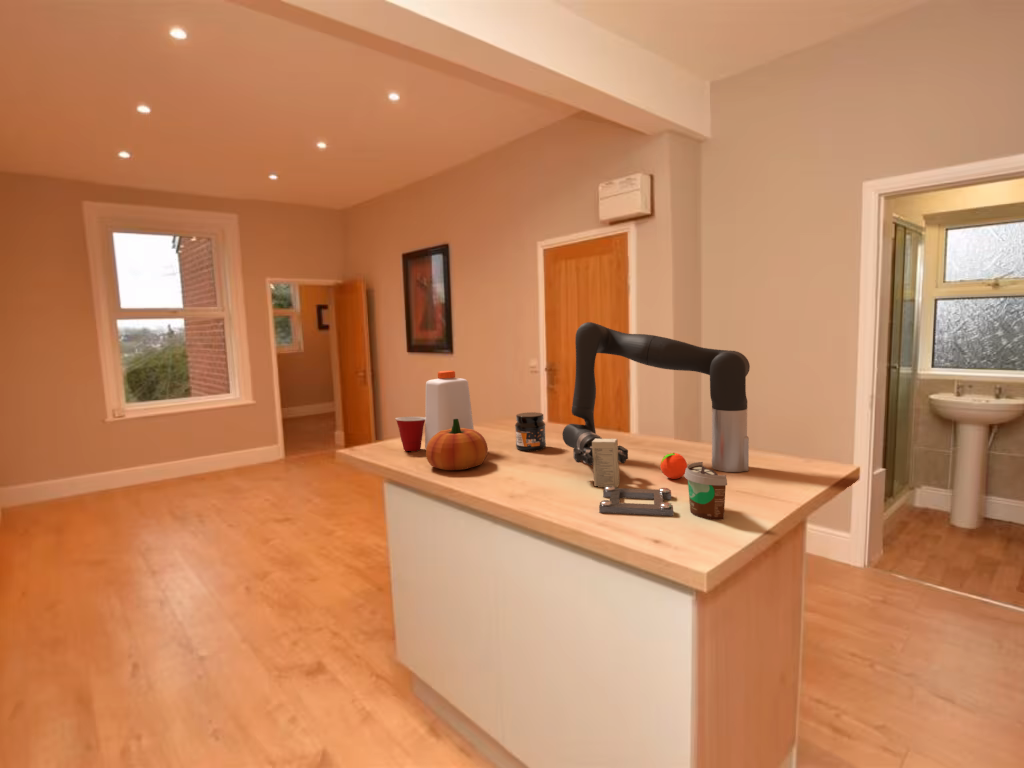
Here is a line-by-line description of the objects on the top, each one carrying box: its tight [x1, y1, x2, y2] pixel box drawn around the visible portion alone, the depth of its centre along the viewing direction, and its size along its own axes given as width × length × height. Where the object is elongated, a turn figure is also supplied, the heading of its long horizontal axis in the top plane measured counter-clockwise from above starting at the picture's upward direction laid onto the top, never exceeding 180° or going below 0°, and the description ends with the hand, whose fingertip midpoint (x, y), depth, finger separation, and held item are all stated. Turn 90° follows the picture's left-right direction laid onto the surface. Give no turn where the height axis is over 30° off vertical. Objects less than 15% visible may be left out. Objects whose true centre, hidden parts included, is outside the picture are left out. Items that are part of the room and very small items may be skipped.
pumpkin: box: [425, 419, 489, 471], centre depth 166 cm, size 19×19×15 cm
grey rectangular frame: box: [598, 486, 674, 517], centre depth 125 cm, size 16×14×2 cm
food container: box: [683, 461, 728, 521], centre depth 118 cm, size 12×6×10 cm, turn 5°
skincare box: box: [592, 438, 620, 488], centre depth 140 cm, size 6×4×12 cm
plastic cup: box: [394, 416, 425, 452], centre depth 191 cm, size 11×11×12 cm
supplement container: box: [514, 411, 547, 452], centre depth 186 cm, size 10×10×12 cm
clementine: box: [659, 452, 688, 480], centre depth 144 cm, size 8×7×7 cm
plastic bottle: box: [424, 370, 475, 450], centre depth 187 cm, size 15×15×28 cm
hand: (607, 460), depth 139 cm, fingers open, 8 cm apart
